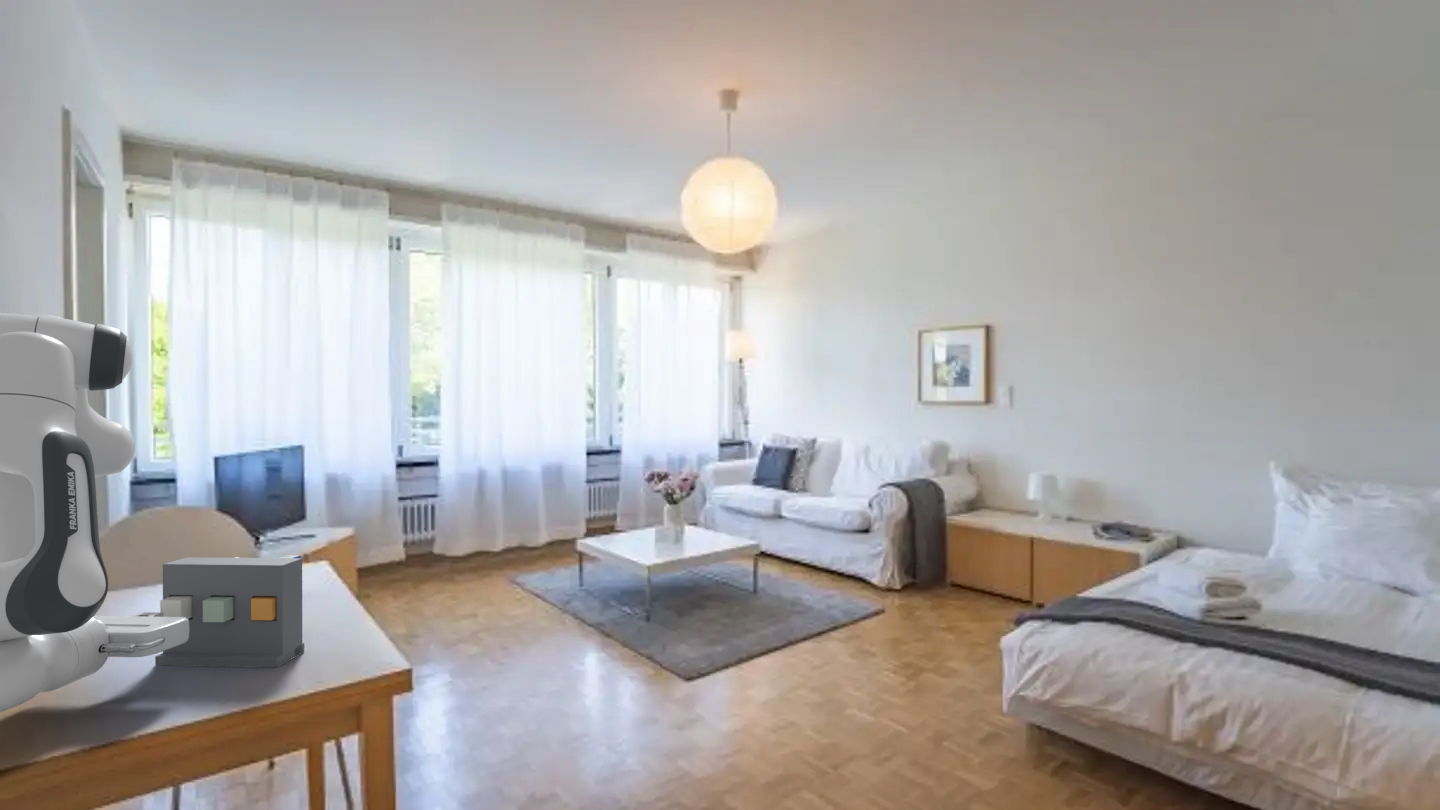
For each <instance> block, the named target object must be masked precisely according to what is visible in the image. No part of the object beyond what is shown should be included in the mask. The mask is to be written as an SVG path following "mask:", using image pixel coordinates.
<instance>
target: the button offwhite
mask: <svg viewBox="0 0 1440 810" xmlns="http://www.w3.org/2000/svg"><path fill="white" fill-rule="evenodd" d="M159 601H160V604H159V606H160V608H159V610H160V611H159V613H163V617H186V618H188V619H189V618H192V617H193V595H174V596H171V597H168V598H165V599H163V598H162V599H160V600H159Z"/></svg>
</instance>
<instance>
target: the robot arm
mask: <svg viewBox="0 0 1440 810" xmlns="http://www.w3.org/2000/svg"><path fill="white" fill-rule="evenodd" d="M133 356H134V355H133V350H132V347H131V345H130V342H129V341H128V337H127V335H126V334H125V333H124V332H123V331H121V330H120V328H117V327H114V326H110V325H106V324H103V323H99V322H98V323H97V322H96V323H95V324H92V323H88V322H84V321H79V320H74V319H69V318H64V317H61V316H58V315H56V314H55V315H54V314H49V313H31V314H30V313H29V314H24V313H23V314H21V313H11V312H9V313H6V312H4V313H3V312H0V713H2V712H6V711H8V710H10V709H13V708H16V707H18V706H20V705H22V704H25V703H27V702H29V701H30V700H32V699H33V698H35V697H36V696H37V695H38V694H40V693H47V692H52V691H55V690H57V689H61V688H63V687H65V686H68V685H70V684H73V683H74V682H78V681H79V680H81V679H84V678H86V677H89V676H91V675H93V674H95V673H97V672H98V671H99V670H101V669H102V668H103V666H104V665H105V663H106V662H107V660H108V659H109V658H111V657H112V658H141V657H142V658H143V657H147V656H152V655H156V654H159V653H161V652H162V653H163V651H165V650H168V649H171V648H173V647H176V646H179V645H181V644H183V643H185V642H187V641H188V639H189V630H190V629H189V620H188V618H186V617H163V613H160V611H159V612H158V611H157V612H155V611H154V612H151V611H150V612H149V611H144V612H140V613H138V614H132V615H96V614H97V613H98V611H99V610H100V609H101V607H102V606H103V603H104V602H105V600H106V597H107V594H108V591H109V577H108V576H109V575H108V572H107V568H106V566H105V561H104V559H103V556H102V552H101V545H100V536H99V534H100V533H99V521H98V519H99V517H98V516H99V515H98V501H97V500H98V499H97V486H96V478H98V477H105V476H109V475H113V474H117V473H121V472H122V471H124V470H125V469H126V468H127V467H128V466H129V464H130V463H131V462H132V460H133V458H134V456H135V451H136V444H135V441H134V437H133V435H132V434H131V432H130V431H129V430H128V429H127V428H126V427H125V426H124V425H122V424H121V423H120V422H119V423H118V422H115V421H113V420H110V419H108V418H106V417H104V416H102V415H101V414H99V413H98V412H97V411H96V410H94V408H93V407H91V405H90V403H89V397H88V390H89V391H104V390H105V391H106V390H112V389H115V388H116V387H118V386H120V385H121V384H122V383H123V380H124V379H125V378H126V377H127V375H128V374H129V373H130V371H131V368H132V364H133V358H134V357H133Z"/></svg>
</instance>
